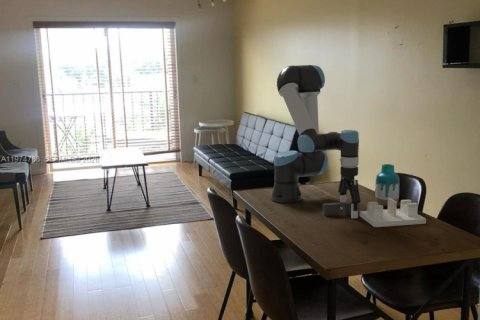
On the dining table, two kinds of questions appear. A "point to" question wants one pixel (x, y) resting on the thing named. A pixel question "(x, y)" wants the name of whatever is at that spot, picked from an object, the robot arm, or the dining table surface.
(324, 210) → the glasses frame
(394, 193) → the vase
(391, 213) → the white pegged base plate
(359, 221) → the dining table surface
